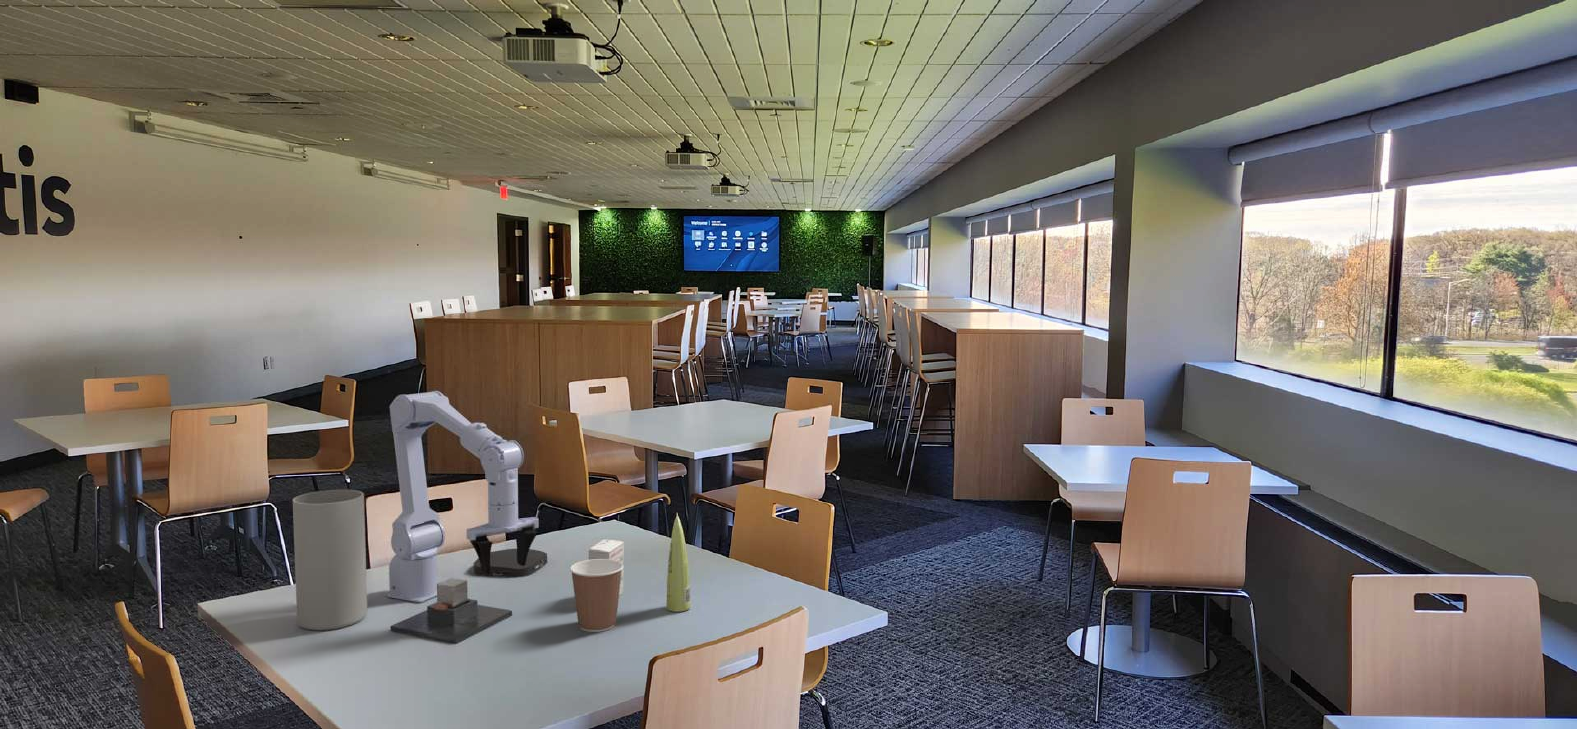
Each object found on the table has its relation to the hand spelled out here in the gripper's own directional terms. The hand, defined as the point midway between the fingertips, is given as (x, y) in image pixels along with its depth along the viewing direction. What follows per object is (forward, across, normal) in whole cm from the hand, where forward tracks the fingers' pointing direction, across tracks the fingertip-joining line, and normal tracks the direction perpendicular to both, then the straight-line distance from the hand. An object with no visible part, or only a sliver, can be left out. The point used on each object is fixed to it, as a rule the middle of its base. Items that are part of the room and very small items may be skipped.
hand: (503, 568), depth 182 cm
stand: (+10, -9, +3) cm, 14 cm away
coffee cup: (+10, +11, -17) cm, 23 cm away
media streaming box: (+11, +16, +29) cm, 35 cm away
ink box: (+10, +21, -5) cm, 24 cm away
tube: (+10, +29, -20) cm, 36 cm away
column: (+9, -9, +3) cm, 13 cm away
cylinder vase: (+10, -26, +21) cm, 35 cm away
